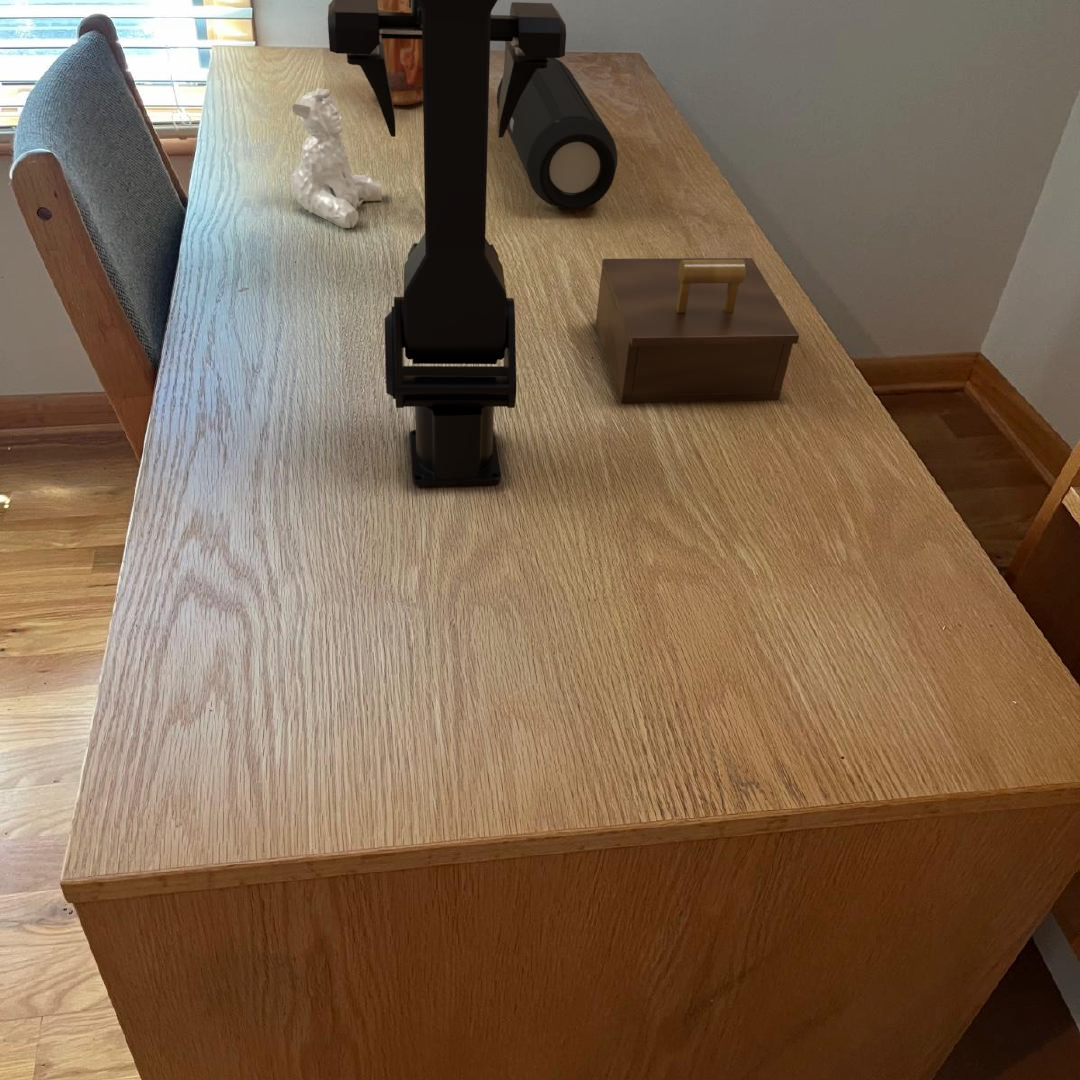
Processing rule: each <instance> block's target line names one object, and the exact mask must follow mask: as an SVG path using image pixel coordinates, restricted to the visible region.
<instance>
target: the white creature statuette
mask: <svg viewBox="0 0 1080 1080" xmlns="http://www.w3.org/2000/svg"><path fill="white" fill-rule="evenodd" d="M291 112H292V113H293V114H294V115H296V116H298V119H299V120H300V123H301V124H302V126H303V128H304V129H305V131H306V133H308V136H307V138H305V139H304V142H303V143H302V145H301V149H302V150H301V153H300V159H301V160H300V162H299V163H298V166H297V167H296V169H295V171H294V172H292V173H291V177H292V178H291V179H290V183H291V187H292V192H293V195H294V196H295V200H296V201H297V203H298V204H299V205H301V206H302V207H303V209H304V210H306V211H308V213H310V214H314V215H316V216H318V217H319V218H322V219H324V220H326V221H328V222H329V223H331V224H333V225H336V226H338V227H339V228H343V229H350V228H352V229H353V228H354V227H355V226H356V225H357V223H358V221H359V213H358V211H357V209H358V208H360V206H361V204H362V203H364V202H382V201H383V200H382V199H383V197H382V195H383V194H382V181H379V180H376V179H373V178H372V177H369V175H367V174H354V175H352V169H351V168H350V164H349V163H348V156H347V152H346V151H345V150H346V148H345V145H344V143H343V142H342V139H343V138H342V134H341V133H342V132H343V130H344V129H343V126H342V122H343V116H342V114H341V111H340V109H339V107H338V104H337V102H336V98H335V97H334V96H333V95H331V90H330V89H328V88H321V87H317V88H316V90H315V91H309V92H307V93H305V94H304V95H303V96H301V100H300V101H299V102H295V103H293V104H292V107H291Z"/></svg>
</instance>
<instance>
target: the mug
mask: <svg viewBox="0 0 1080 1080" xmlns="http://www.w3.org/2000/svg"><path fill="white" fill-rule="evenodd" d="M377 3H378V12H399V13H411V8H410V7H409V0H377ZM421 27H422V25H421ZM383 45H384V52H385V58H386V65H387V71H388V77H389V83H390V89H391V96H392V102H393V106H395V105H397V106H405V105H406V106H407V105H409V106H410V105H415V104H419V103H421V102H423V59H422V39H384V38H383Z"/></svg>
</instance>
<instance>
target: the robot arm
mask: <svg viewBox="0 0 1080 1080" xmlns="http://www.w3.org/2000/svg"><path fill="white" fill-rule="evenodd" d="M498 1H499V0H409V7H410V8H411V13H399V12H378V3H377V0H332V1H330V3H329V4H328V7H327V9H328V10H327V30H328V44H329V45H328V47H329V52H331V53H333V54H339V55H340V54H341V55H343V54H344V55H345V54H346V62H347V64H349V65H350V66H351V65H352V66H359V67H360V68H361V71H362V72H363V74H364V76H365V77H366V79H367V82H368V83H369V85H370V87H371V89H372V92H373V93H374V95H375V97H376V100H377V103H378V106H379V108H380V111H381V113H382V116H383V119H384V122H385V124H386V127H387V130H388V132H389V135H390V137H392V138H395V137H396V136H397V135H396V133H397V132H396V116H395V108H394V105H393V102H392V96H391V89H390V83H389V77H388V71H387V65H386V58H385V52H384V45H383V38H384V39H422V59H423V101H422V106H423V107H422V112H423V113H422V115H423V118H422V119H423V170H424V171H423V175H424V176H423V180H424V233H423V235H422V236H421V238H420V240H419V241H418V243H417V242H413V243H412V246H411V248H410V249H409V251H408V253H407V260H406V261H405V263H404V264H403V265H404V266H403V296H394V297H393V305H392V306H391V310H390V312H389V313H388V314H387V315H386V316H385V317H384V354H385V355H384V361H385V363H384V364H385V365H384V366H385V390H386V394H387V395H389V396H391V397H392V399H393V400H395V408H396V409H403V408H404V407H405V408H410V407H411V408H414V412H415V413H414V414H415V415H414V417H415V419H414V420H415V429H413V430H410V431H409V446H410V462H411V463H410V464H411V479H412V481H411V482H412V485H414V486H416V487H436V486H442V487H443V486H468V485H469V486H470V485H471V486H472V485H496V484H499V483H501V481H502V472H501V471H502V470H501V466H500V465H501V464H500V459H499V452H498V447H497V441H496V436H495V430H494V425H495V423H494V420H495V408H496V407H497V408H502V407H504V408H505V407H506V408H507V409H515V407H516V399H517V355H516V354H517V351H516V350H517V348H516V346H517V344H516V308H515V307H516V306H515V298H514V297H508V296H507V288H506V281H505V275H504V266H503V264H502V262H501V260H500V257H499V254H498V252H497V250H496V248H495V246H494V244H490V243H489V241H488V240H487V238H486V223H487V222H486V221H487V189H488V188H487V187H488V186H487V185H488V184H487V179H488V145H489V144H488V143H489V142H488V140H489V106H490V105H489V104H490V103H489V102H490V101H489V100H490V65H491V63H490V60H491V42H505V43H504V62H503V64H504V65H503V71H502V72H503V73H502V77H503V79H502V78H501V79H502V86H501V94H500V101H499V108H498V107H497V128H496V129H497V131H496V133H497V137H498V138H499V139H502V138H504V136H505V134H506V132H507V127H508V125H509V122H510V120H511V118H512V115H513V113H514V110H515V108H516V106H517V103H518V101H519V99H520V97H521V95H522V93H523V91H524V90H525V88H526V86H527V84H528V83H529V81H530V79H531V78H532V76H533V74H534V73H535V71H536V70H537V69H544V68H547V67H548V59H547V58H556V59H561V58H564V57H565V56H566V43H567V27H566V26H567V25H566V23H565V21H564V19H563V17H562V15H561V14H560V12H559V10H558V9H557V8H556V7H555V6H554V4H553V3H551V2H549V3H548V2H521V1H520V2H519V1H518V2H517V1H516V2H515V1H512V2H511V3H510V8H509V14H506V15H505V14H500V15H499V14H492V11H493V9H494V7H495V6H496V4H497V2H498ZM421 25H422V27H421ZM404 356H405V357H404ZM405 358H406V359H407V360H412V364H413V365H405ZM502 360H503V366H500V365H499V366H498V365H497V364H498V361H502ZM476 365H479V366H476ZM480 365H481V366H480ZM484 365H485V366H484ZM489 365H490V366H489ZM493 365H494V366H493ZM495 365H497V366H495Z"/></svg>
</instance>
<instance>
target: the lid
mask: <svg viewBox="0 0 1080 1080" xmlns="http://www.w3.org/2000/svg"><path fill="white" fill-rule="evenodd" d="M602 268H603V271H604V274H605V276H606V279H607V282H608V284H609V287H610V290H611V292H612V295H613V298H614V300H615V303H616V306H617V309H618V311H619V314H620V317H621V319H622V322H623V325H624V327H625V330H626V333H627V335H628V338H629V341H630V343H631V346H684V345H746V344H793V345H796V344H798V342H799V339H800V334H799V332H798V330H797V329H796V327H795V326H794V324H793V322H792V321H791V319H790V318H789V316H788V314H787V312H786V311H785V310H784V308H783V306H782V305H781V303H780V301H779V299H778V298H777V296H776V294H775V293H774V291H773V290H772V288H771V287H770V285H769V284H768V282H767V280H766V278H765V277H764V276H763V275H764V274H763V273H762V272H761V270H760V269H759V267H758V265H757V263H756V262H755V260H754V259H753V258H752V257H706V258H705V257H704V258H702V257H697V258H696V257H695V258H691V257H690V258H677V257H675V258H673V257H672V258H669V257H668V258H602V261H601V269H602Z"/></svg>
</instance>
